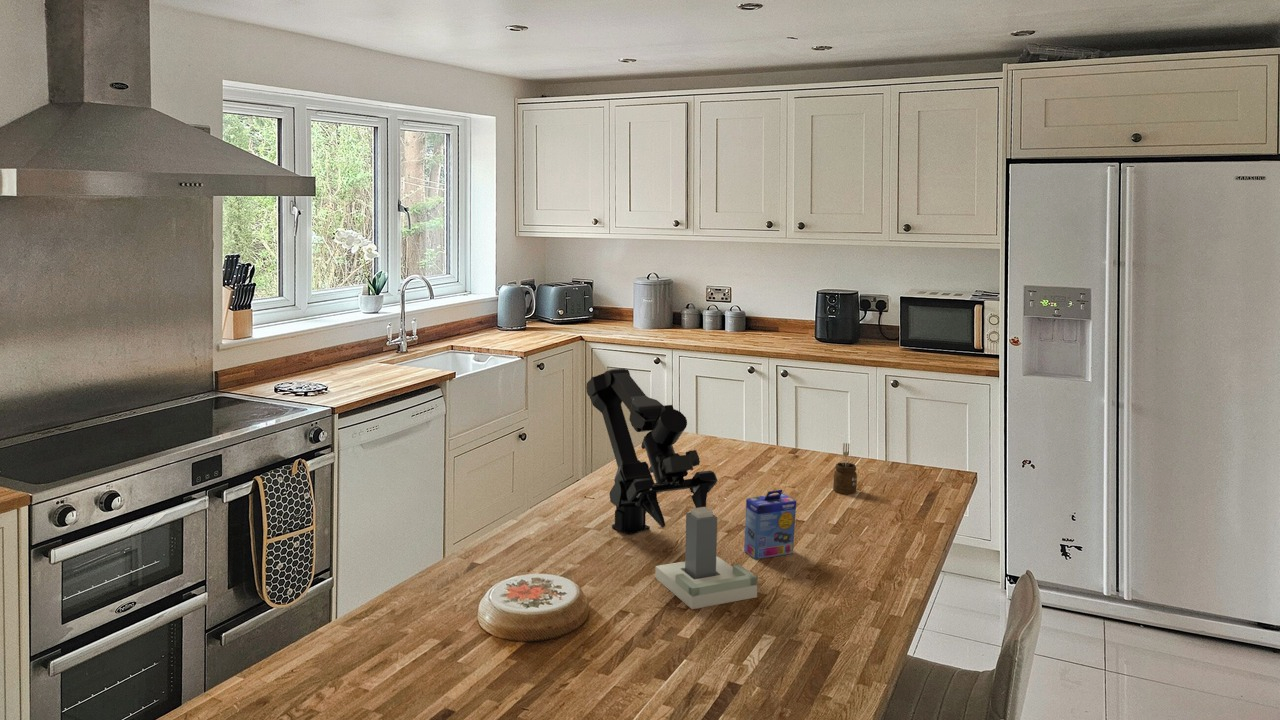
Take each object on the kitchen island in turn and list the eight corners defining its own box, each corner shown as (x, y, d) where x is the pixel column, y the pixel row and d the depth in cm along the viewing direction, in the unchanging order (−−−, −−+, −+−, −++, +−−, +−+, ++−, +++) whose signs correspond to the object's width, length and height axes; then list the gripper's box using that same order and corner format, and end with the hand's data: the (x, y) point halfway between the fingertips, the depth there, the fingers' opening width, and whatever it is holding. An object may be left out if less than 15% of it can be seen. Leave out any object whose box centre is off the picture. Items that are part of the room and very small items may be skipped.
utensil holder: (833, 493, 250) (835, 448, 248) (832, 486, 257) (834, 442, 254) (856, 495, 250) (859, 450, 247) (855, 488, 256) (857, 443, 254)
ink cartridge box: (755, 560, 205) (758, 494, 202) (742, 551, 210) (744, 487, 207) (795, 554, 209) (798, 489, 206) (781, 545, 214) (783, 482, 211)
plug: (684, 580, 194) (686, 508, 191) (704, 576, 195) (706, 505, 193) (695, 588, 190) (696, 515, 187) (715, 585, 191) (717, 512, 189)
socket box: (655, 577, 195) (655, 558, 194) (716, 567, 201) (717, 548, 200) (691, 609, 181) (692, 588, 180) (756, 597, 186) (757, 577, 186)
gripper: (633, 441, 195) (655, 511, 187) (714, 433, 203) (739, 500, 195) (617, 468, 204) (637, 536, 196) (696, 459, 211) (719, 524, 204)
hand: (684, 523), depth 197 cm, fingers open, 9 cm apart
